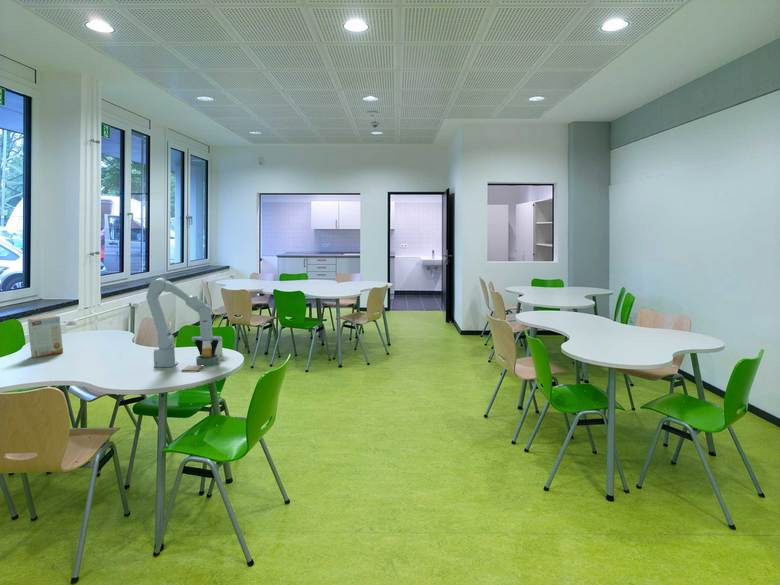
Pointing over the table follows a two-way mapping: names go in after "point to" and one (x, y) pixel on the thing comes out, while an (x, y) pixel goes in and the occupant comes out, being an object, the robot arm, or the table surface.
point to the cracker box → (45, 336)
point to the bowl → (207, 360)
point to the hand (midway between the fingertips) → (207, 354)
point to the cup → (218, 348)
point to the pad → (192, 368)
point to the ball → (207, 352)
